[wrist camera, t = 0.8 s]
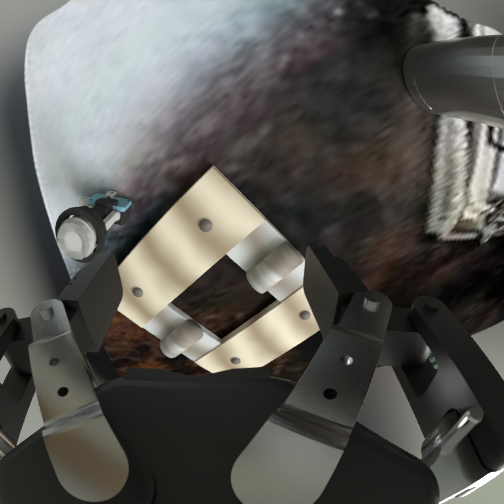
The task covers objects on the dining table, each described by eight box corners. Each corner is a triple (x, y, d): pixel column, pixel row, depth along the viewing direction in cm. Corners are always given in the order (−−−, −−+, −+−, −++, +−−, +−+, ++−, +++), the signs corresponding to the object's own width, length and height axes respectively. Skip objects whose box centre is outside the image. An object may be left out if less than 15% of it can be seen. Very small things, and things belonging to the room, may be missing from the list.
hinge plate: (213, 165, 29) (210, 171, 26) (346, 303, 39) (353, 318, 36) (99, 288, 35) (91, 302, 32) (231, 378, 45) (231, 393, 42)
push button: (84, 217, 30) (41, 257, 21) (86, 175, 28) (38, 205, 19) (131, 228, 31) (99, 274, 23) (137, 185, 29) (100, 219, 20)
